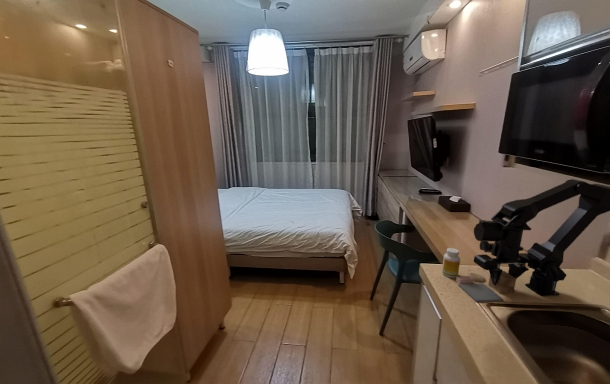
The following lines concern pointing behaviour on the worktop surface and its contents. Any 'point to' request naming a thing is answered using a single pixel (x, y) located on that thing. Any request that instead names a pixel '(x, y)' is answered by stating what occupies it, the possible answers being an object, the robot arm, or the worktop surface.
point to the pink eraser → (464, 280)
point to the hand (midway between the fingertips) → (501, 284)
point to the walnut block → (504, 283)
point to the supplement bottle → (451, 263)
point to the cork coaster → (476, 277)
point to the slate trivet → (480, 292)
